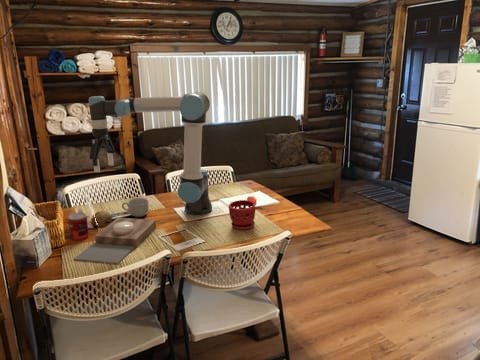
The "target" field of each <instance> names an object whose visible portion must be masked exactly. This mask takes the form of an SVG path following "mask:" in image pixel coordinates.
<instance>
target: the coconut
mask: <svg viewBox="0 0 480 360" xmlns="http://www.w3.org/2000/svg"><path fill="white" fill-rule="evenodd" d="M94 214H95V217H94ZM94 214H93V215H92V217H91V218H90V221H91V224H92V226H93V227H107V226H108V225H109V224H111V223H112V222H113V216H112V215H111V213H109V212H108V211H104V210H103V211H102V210H101V211H96V212H95V213H94ZM95 218H96V221H97V223H98V225H99V226H97V225H96V222H95Z"/></svg>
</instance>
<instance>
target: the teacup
mask: <svg viewBox="0 0 480 360" xmlns="http://www.w3.org/2000/svg"><path fill="white" fill-rule="evenodd" d="M125 205H126V206H127V208H126V207H125ZM121 207H122V210H124V211H127V213H128V214H129V215H131V216H133V217H134V216H135V217H134V218H142V217H144V216H146V215H147V214H148V213H149V210H150V209H149V199H148V198H144V197H138V198H132V199H130V200H128V202H127V201H123V202H122V204H121Z"/></svg>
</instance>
